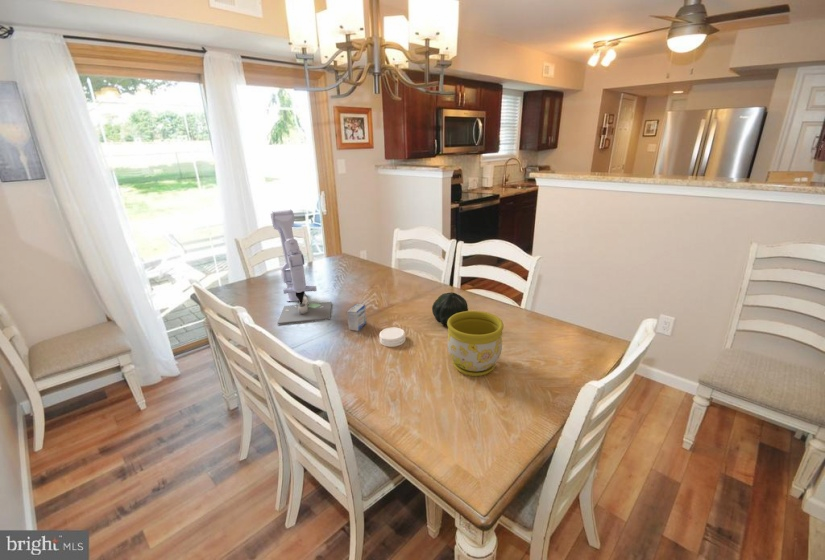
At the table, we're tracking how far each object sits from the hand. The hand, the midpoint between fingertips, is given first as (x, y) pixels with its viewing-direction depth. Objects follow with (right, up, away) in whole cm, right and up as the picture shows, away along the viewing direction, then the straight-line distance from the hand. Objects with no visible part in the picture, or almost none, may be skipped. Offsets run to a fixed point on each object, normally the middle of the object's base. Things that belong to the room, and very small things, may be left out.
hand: (302, 306), depth 170 cm
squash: (+68, -6, -16) cm, 70 cm away
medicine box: (+29, -8, -17) cm, 34 cm away
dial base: (+3, -3, -4) cm, 6 cm away
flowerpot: (+72, -17, -47) cm, 88 cm away
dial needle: (+1, -1, -2) cm, 2 cm away
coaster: (+44, -12, -29) cm, 54 cm away
